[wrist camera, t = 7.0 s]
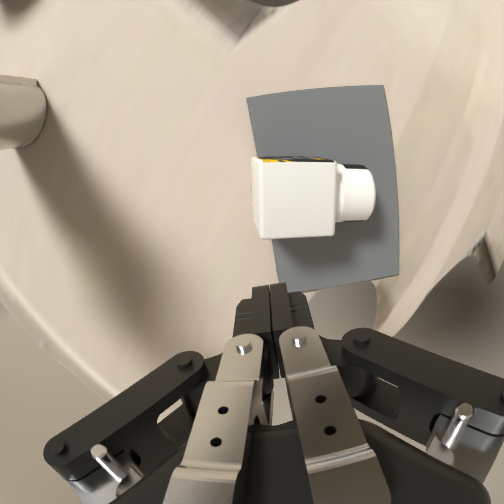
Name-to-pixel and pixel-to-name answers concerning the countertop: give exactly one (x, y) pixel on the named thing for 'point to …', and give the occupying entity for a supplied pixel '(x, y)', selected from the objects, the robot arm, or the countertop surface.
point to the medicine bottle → (308, 195)
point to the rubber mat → (343, 152)
